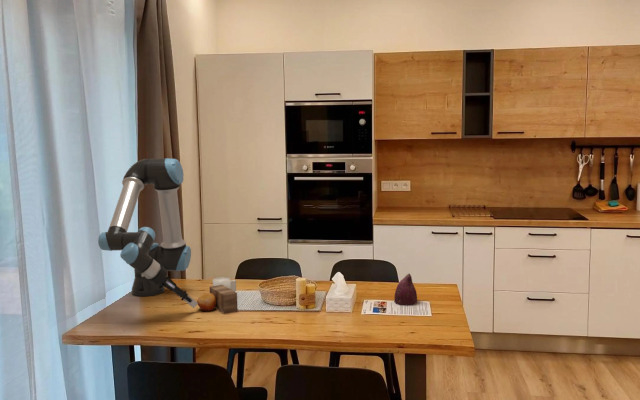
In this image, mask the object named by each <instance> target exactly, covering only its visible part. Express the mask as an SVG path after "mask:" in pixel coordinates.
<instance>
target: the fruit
mask: <svg viewBox="0 0 640 400" xmlns="http://www.w3.org/2000/svg"><path fill="white" fill-rule="evenodd" d="M196 302H197V303H198V304H197V306H198V307H199V309H200V310H201V311H203V312H205V311H207V312H209V311H213V310H215V309H216V308H215V306H216V298H215V296H214V295H213V294H212V293H210V292H207V293H203V294H201V295H199V297H198V299H197V300H196Z"/></svg>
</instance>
